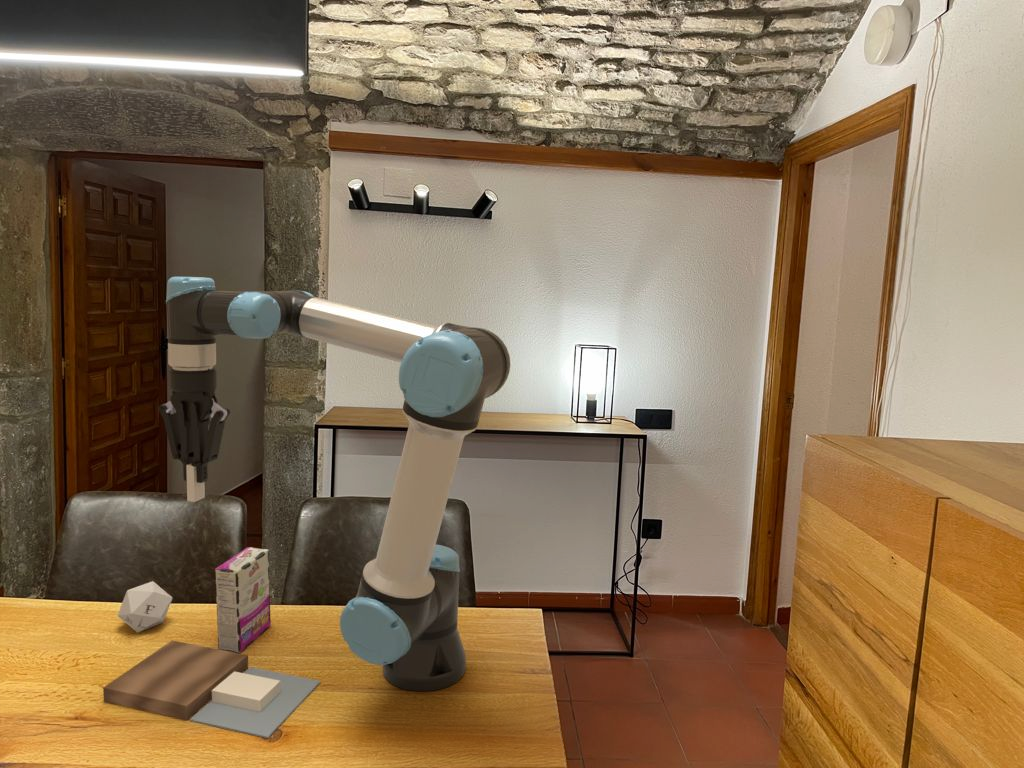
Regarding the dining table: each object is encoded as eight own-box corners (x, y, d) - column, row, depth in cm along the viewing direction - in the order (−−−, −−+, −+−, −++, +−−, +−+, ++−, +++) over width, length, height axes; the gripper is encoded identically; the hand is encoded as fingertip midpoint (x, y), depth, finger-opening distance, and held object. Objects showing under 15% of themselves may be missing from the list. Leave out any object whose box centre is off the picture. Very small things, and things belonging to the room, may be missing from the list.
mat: (320, 682, 125) (320, 680, 125) (267, 738, 110) (267, 736, 110) (250, 668, 129) (250, 666, 129) (189, 720, 113) (189, 719, 113)
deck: (248, 668, 129) (247, 655, 128) (187, 720, 113) (186, 705, 113) (172, 652, 133) (172, 640, 132) (103, 701, 117) (103, 687, 117)
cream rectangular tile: (280, 691, 122) (280, 680, 121) (259, 711, 116) (259, 700, 115) (234, 682, 124) (234, 671, 123) (211, 701, 118) (211, 690, 118)
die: (109, 637, 138) (125, 607, 134) (119, 598, 145) (134, 568, 141) (156, 643, 142) (172, 615, 138) (163, 605, 149) (179, 576, 145)
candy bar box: (249, 622, 145) (247, 545, 142) (271, 626, 144) (270, 548, 141) (215, 650, 134) (213, 567, 132) (239, 654, 133) (238, 571, 131)
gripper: (239, 367, 125) (241, 497, 128) (175, 362, 128) (179, 489, 131) (211, 373, 118) (214, 510, 121) (144, 367, 121) (149, 501, 124)
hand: (196, 499), depth 126 cm, fingers closed
